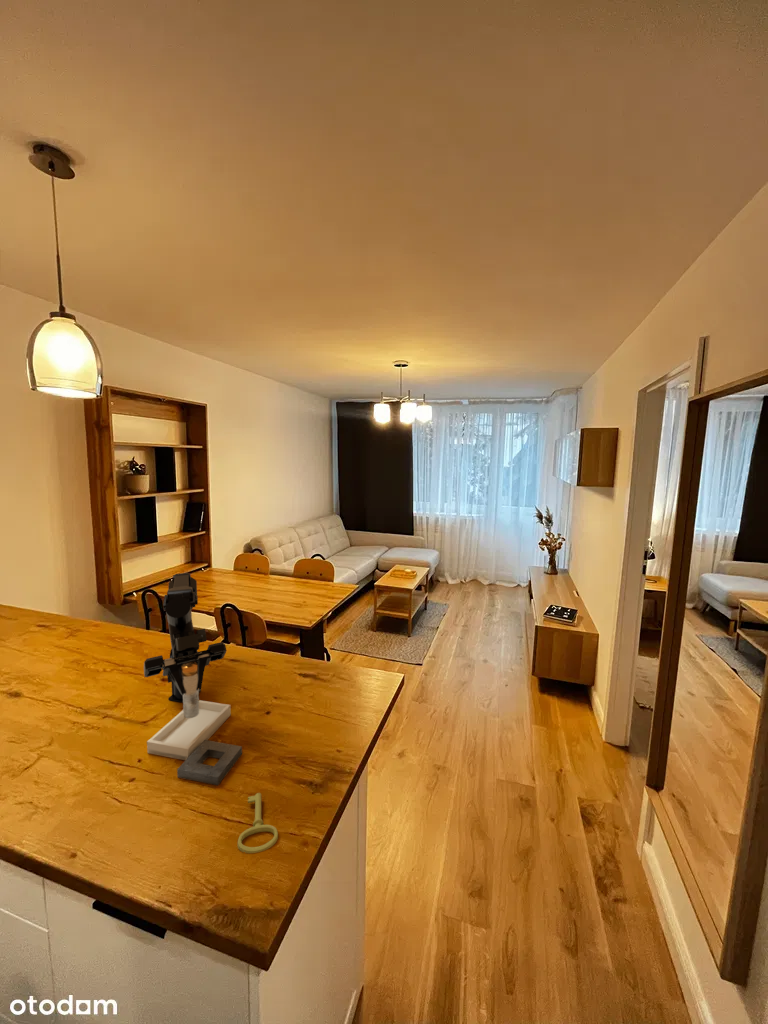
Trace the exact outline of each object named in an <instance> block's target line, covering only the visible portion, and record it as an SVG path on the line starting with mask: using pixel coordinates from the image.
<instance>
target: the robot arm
mask: <svg viewBox="0 0 768 1024" xmlns="http://www.w3.org/2000/svg"><path fill="white" fill-rule="evenodd" d="M167 588H168V589H167V591H166V594H164V596H163V598H164V599H163V605H162V607H163V608H162V609H163V611H165V615H166V620H167V623H168V624H167V626H168V631H169V638H170V643H171V644H170V645H171V649H170V651H169V652H170V653H169V657H168V658H165V659H164V657H163V655H157V656H152V657H149V658H146V659H145V660H144V662H143V675H144V678H149V677H153V676H158V675H159V674H160V673H161V672H162V677H166V676H167V683H171V695H170V696H169V697H168V701H170V702H171V701H173V702H178V703H183V695H184V690H183V685H182V665H183V664H185V663H187V662H197V663H198V689H199V694H200V693H201V692H202V686H203V680H204V679H203V678H204V673H205V669H206V666H209V665H210V662H214V661H218V660H222V659H224V657H225V656H226V653H227V647H226V644H225V643H224V642H223V641H221V642H215V643H211V644H208V647H207V649H205V650H200V651H198V650H199V649H200V643H204V642H207V640H208V639H207V633H206V629H205V628H202V629H198V630H196V632H195V630H194V629H195V628H194V624H193V617H192V616H193V614H192V610H193V608H196V606H197V605H198V604H199V599H198V598H199V597H198V582H197V580H196V579H195V578H193V577H192V575H191V573H189V572H182V573H175V574H173V575H172V579H171V580H170V581H169V582H168V587H167Z"/></svg>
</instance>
